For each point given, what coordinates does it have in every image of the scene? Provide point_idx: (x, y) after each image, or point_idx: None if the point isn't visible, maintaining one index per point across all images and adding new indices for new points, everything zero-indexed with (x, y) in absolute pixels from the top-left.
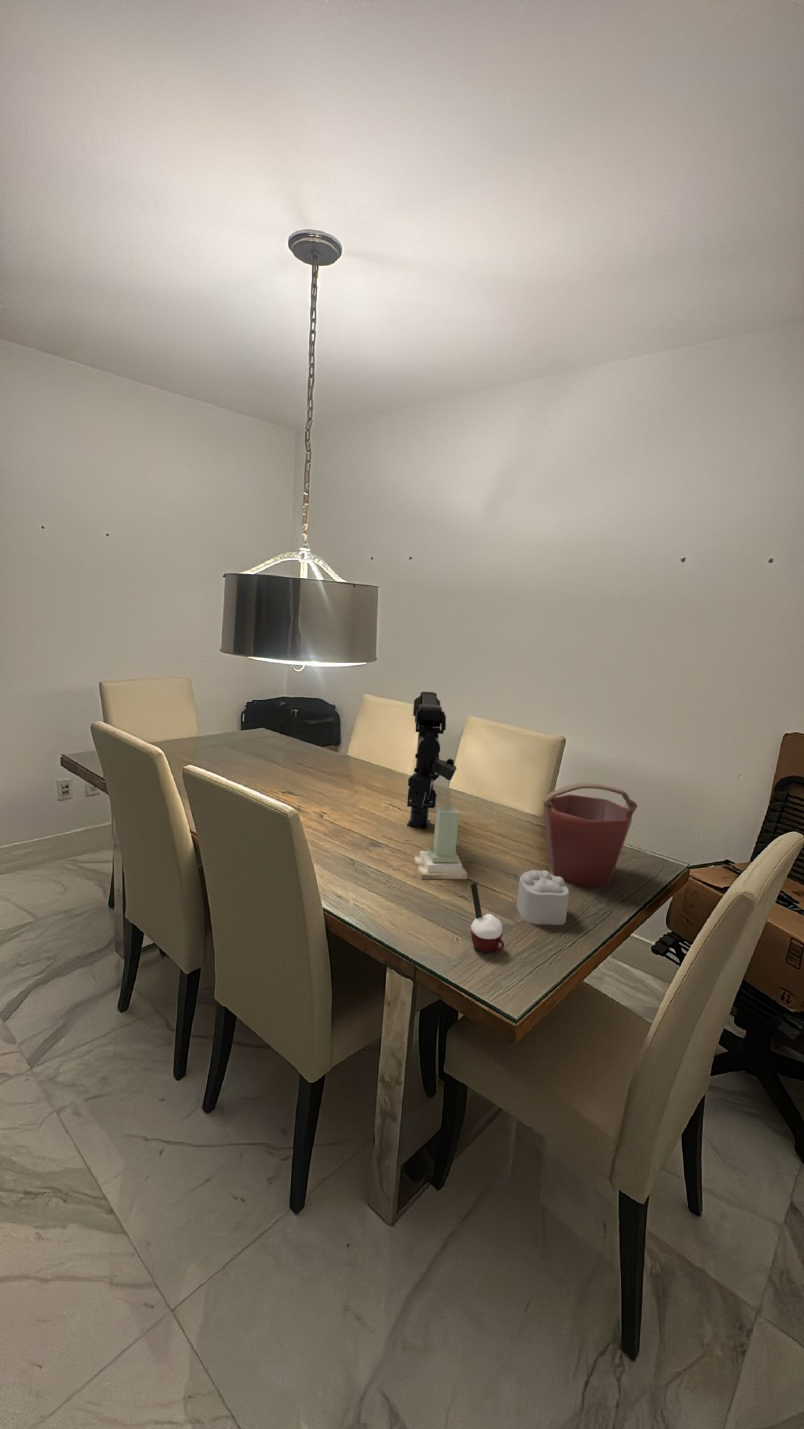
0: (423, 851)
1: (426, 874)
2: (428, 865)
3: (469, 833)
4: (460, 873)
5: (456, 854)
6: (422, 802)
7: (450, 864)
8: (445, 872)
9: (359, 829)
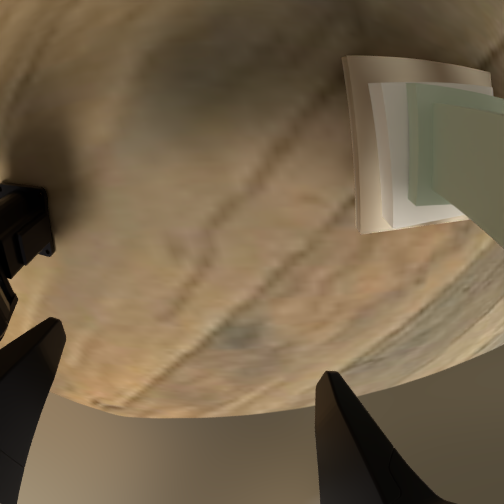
0: (398, 216)
1: None
2: None
3: (44, 28)
4: None
5: (475, 95)
6: (368, 419)
7: None
8: None
9: (144, 364)
